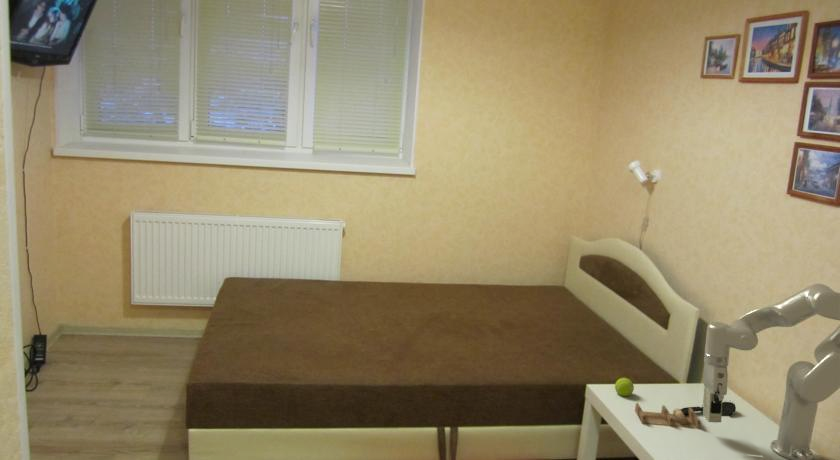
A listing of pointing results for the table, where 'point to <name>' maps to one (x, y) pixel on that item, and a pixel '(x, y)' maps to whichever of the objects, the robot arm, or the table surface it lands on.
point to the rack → (667, 418)
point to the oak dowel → (680, 416)
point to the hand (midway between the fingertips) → (711, 408)
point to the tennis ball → (624, 387)
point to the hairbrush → (727, 409)
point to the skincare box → (707, 407)
